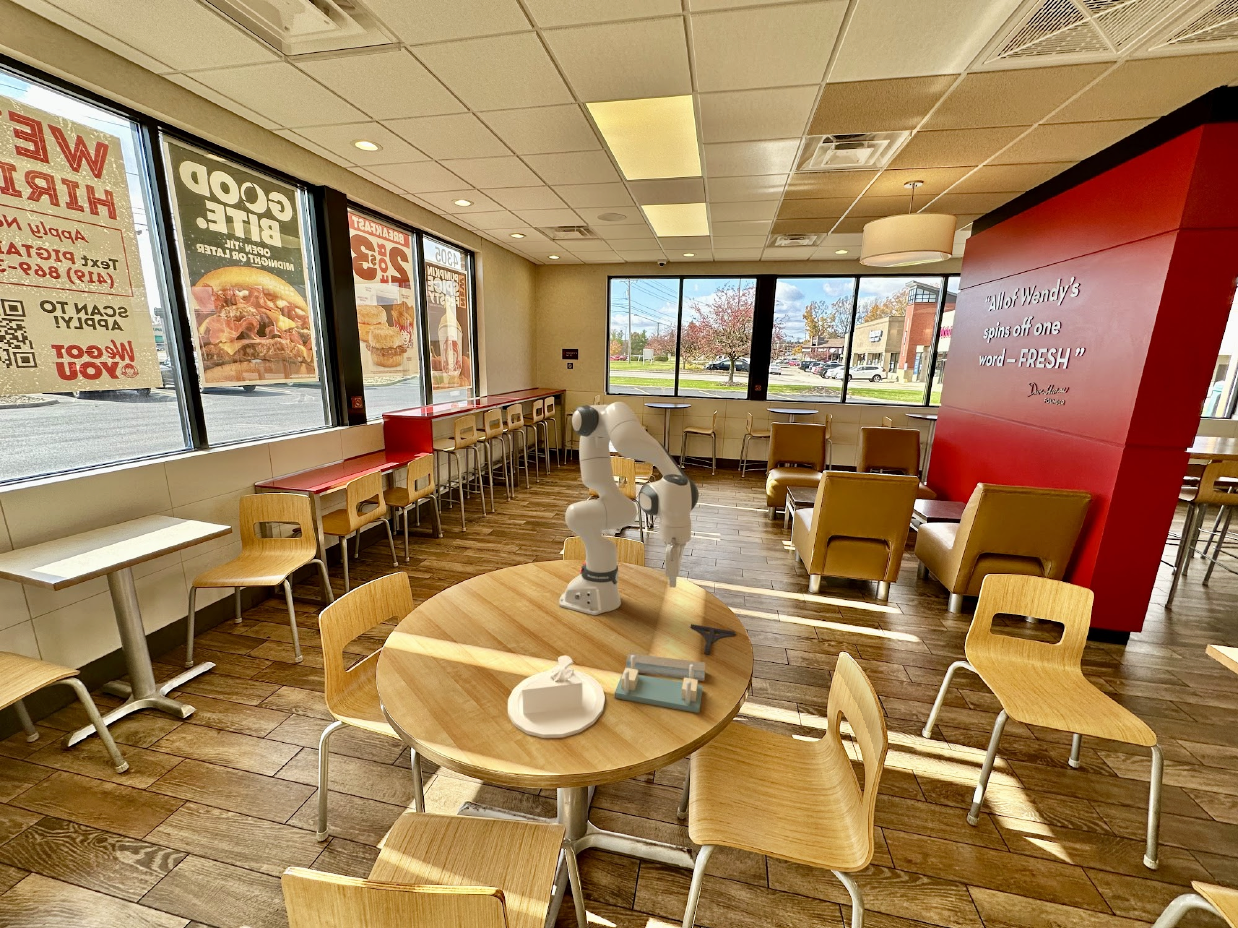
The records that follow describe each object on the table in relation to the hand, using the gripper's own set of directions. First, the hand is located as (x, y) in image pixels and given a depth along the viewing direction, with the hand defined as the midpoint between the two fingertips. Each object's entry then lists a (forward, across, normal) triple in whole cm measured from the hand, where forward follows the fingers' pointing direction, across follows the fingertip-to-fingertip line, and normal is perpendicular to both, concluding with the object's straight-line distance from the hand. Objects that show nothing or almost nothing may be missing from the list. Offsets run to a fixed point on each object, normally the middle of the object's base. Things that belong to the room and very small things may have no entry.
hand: (674, 579), depth 141 cm
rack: (+26, -15, +2) cm, 30 cm away
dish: (+26, -24, +28) cm, 45 cm away
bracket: (+26, +13, -10) cm, 31 cm away
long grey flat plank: (+26, -5, +2) cm, 27 cm away
